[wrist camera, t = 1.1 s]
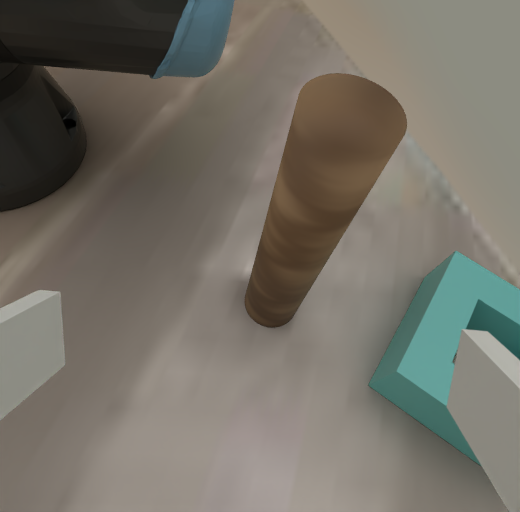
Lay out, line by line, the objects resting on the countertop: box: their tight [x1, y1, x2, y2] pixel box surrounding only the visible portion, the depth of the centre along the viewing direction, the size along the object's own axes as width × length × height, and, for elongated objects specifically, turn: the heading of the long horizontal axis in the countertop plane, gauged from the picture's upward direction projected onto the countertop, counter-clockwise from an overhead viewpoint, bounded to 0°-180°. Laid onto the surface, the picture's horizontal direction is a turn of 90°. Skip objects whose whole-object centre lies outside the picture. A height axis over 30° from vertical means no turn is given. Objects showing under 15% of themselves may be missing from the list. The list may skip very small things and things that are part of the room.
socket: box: [368, 251, 520, 466], centre depth 30 cm, size 12×12×5 cm
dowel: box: [245, 73, 407, 327], centre depth 24 cm, size 4×4×20 cm
